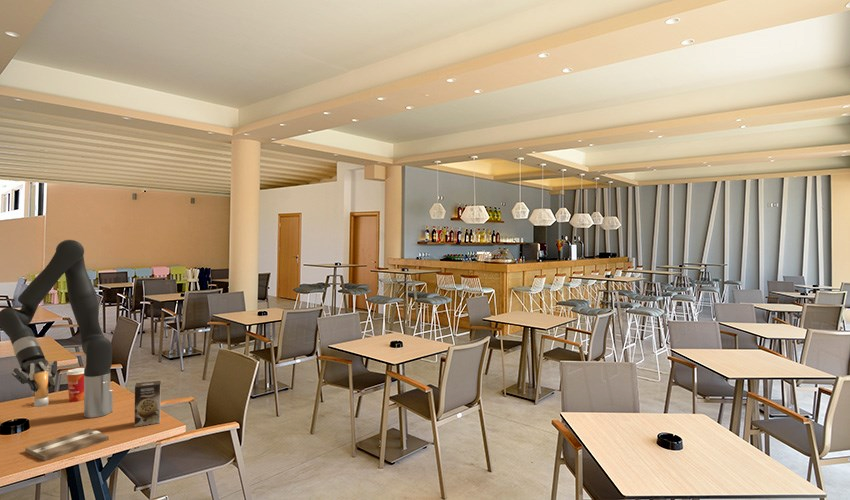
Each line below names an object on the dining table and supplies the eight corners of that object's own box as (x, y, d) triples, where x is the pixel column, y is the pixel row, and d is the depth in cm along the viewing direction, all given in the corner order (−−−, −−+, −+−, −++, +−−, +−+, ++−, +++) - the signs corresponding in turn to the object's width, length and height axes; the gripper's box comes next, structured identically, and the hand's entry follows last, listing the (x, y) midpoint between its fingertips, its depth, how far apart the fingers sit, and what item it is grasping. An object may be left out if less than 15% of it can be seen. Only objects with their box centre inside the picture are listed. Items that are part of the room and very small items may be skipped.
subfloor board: (88, 432, 183) (88, 427, 183) (108, 439, 176) (108, 434, 176) (25, 451, 165) (25, 446, 165) (44, 461, 158) (44, 455, 158)
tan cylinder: (45, 402, 177) (45, 370, 176) (50, 404, 175) (50, 372, 174) (32, 405, 173) (32, 373, 173) (37, 407, 171) (37, 374, 171)
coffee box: (134, 427, 188) (133, 386, 187) (135, 421, 193) (135, 382, 193) (160, 423, 192) (160, 383, 192) (160, 418, 198) (160, 379, 197)
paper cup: (62, 401, 218) (62, 371, 217) (80, 396, 225) (79, 367, 225) (73, 403, 215) (73, 372, 214) (90, 398, 222) (90, 368, 222)
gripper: (7, 349, 171) (23, 387, 165) (53, 341, 183) (69, 377, 178) (1, 361, 174) (16, 400, 168) (47, 353, 186) (63, 389, 180)
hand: (44, 388), depth 173 cm, fingers closed on tan cylinder, 4 cm apart
